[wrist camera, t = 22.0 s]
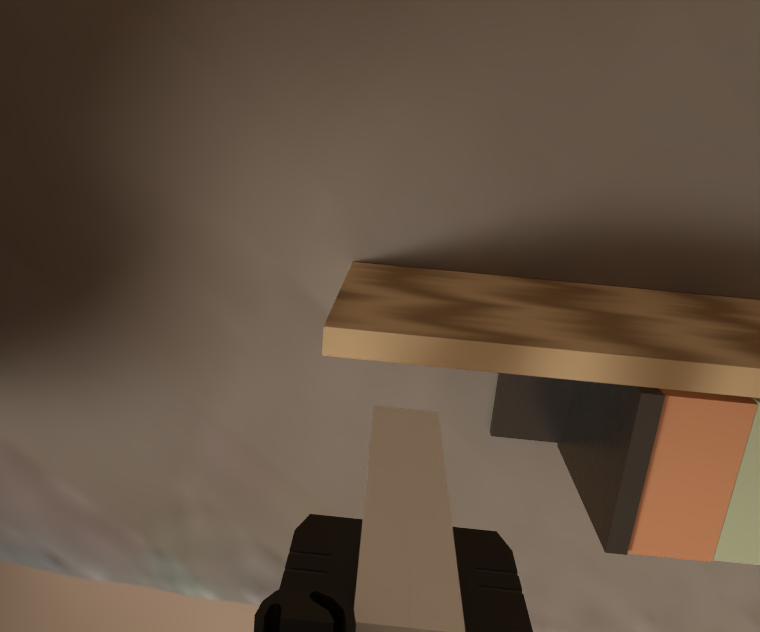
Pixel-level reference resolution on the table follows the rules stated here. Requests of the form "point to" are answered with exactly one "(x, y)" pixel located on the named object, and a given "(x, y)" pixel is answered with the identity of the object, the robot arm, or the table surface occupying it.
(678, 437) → the book rust
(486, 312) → the shelf
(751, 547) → the book green
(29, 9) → the table surface
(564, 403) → the bookend
